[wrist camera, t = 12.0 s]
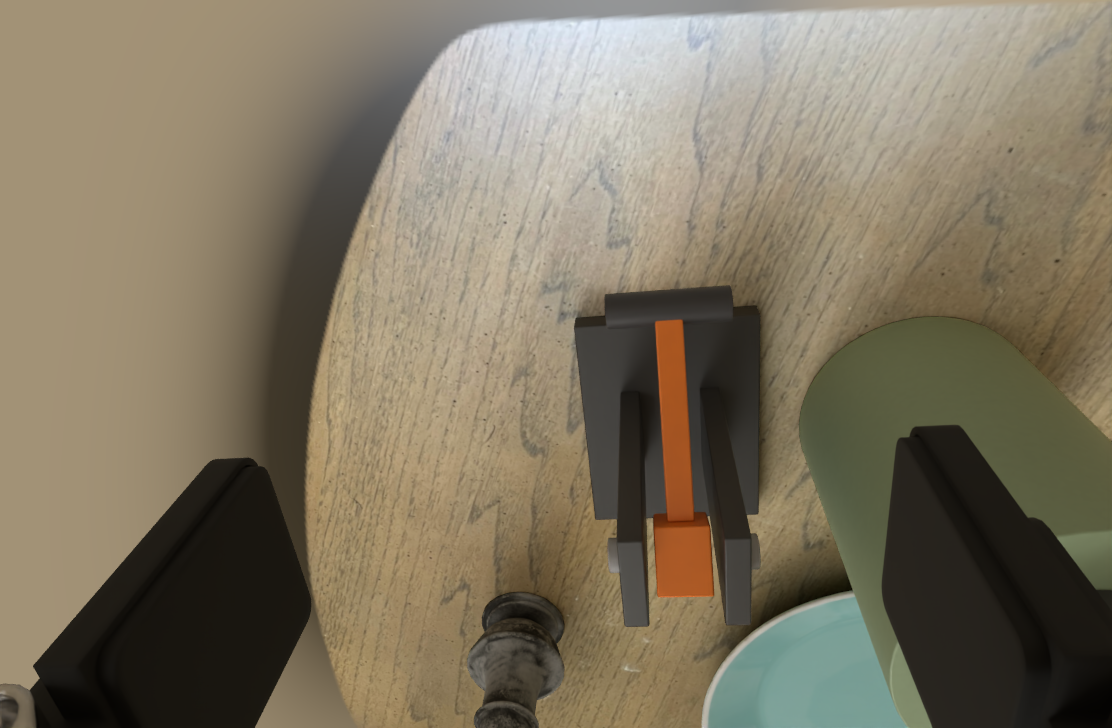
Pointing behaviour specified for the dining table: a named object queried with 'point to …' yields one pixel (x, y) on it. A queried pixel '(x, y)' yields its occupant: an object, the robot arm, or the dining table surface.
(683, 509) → the orange pivot lever
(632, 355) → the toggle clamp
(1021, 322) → the dining table surface
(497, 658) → the chess piece
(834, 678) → the plate
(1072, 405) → the green canister
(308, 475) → the dining table surface
